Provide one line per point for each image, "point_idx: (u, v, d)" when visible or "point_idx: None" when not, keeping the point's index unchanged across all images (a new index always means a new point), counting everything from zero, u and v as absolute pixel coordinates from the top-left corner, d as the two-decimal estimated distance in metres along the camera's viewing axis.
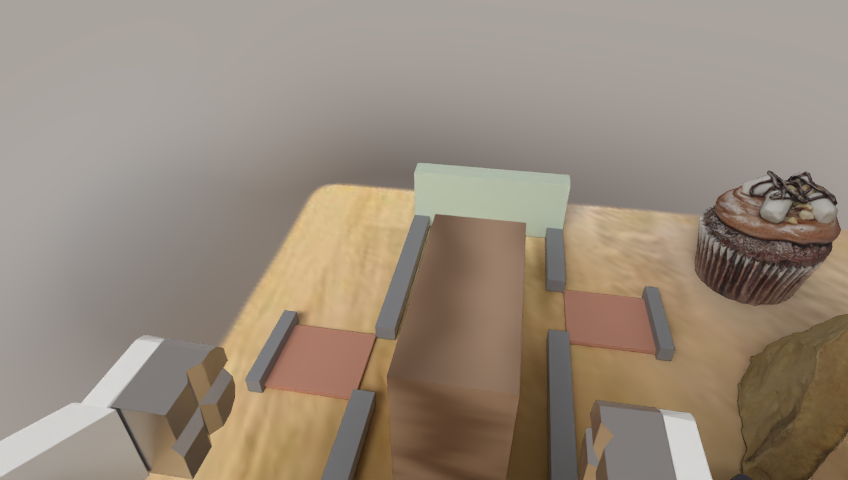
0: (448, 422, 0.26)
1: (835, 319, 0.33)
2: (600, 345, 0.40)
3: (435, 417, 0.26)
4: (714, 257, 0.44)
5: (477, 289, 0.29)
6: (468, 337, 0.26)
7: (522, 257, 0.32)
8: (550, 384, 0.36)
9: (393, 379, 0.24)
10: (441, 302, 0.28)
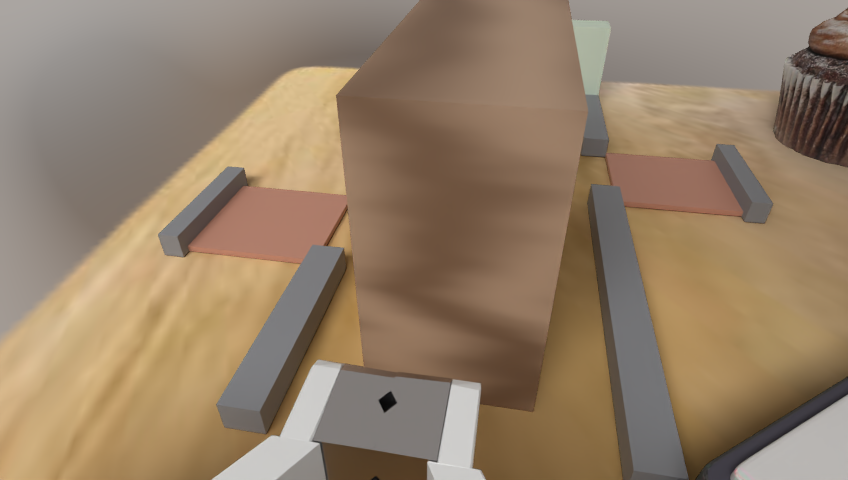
0: (450, 200, 0.14)
1: None
2: (663, 205, 0.29)
3: (427, 191, 0.14)
4: (810, 104, 0.33)
5: (498, 30, 0.18)
6: (486, 63, 0.15)
7: (565, 10, 0.20)
8: (600, 239, 0.25)
9: (348, 102, 0.13)
10: (440, 39, 0.17)
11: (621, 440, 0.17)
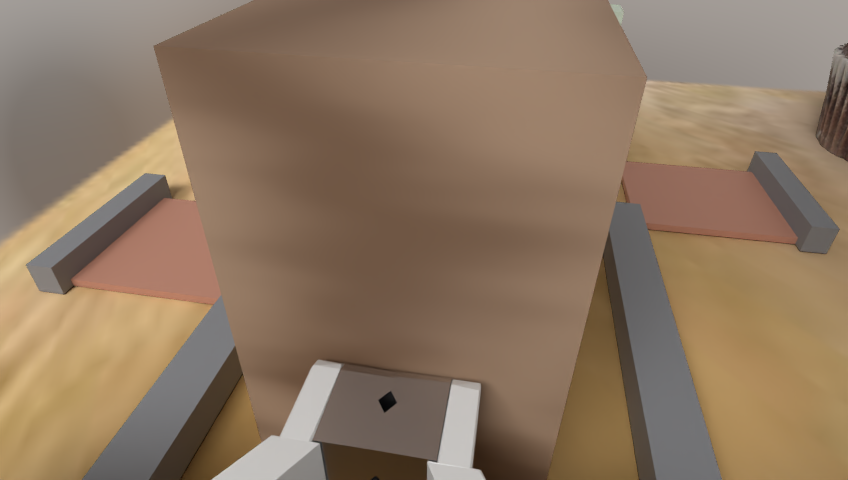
0: (383, 246, 0.08)
1: None
2: (694, 229, 0.23)
3: (341, 228, 0.08)
4: None
5: None
6: (452, 7, 0.09)
7: None
8: (619, 277, 0.19)
9: (177, 60, 0.07)
10: None
11: None
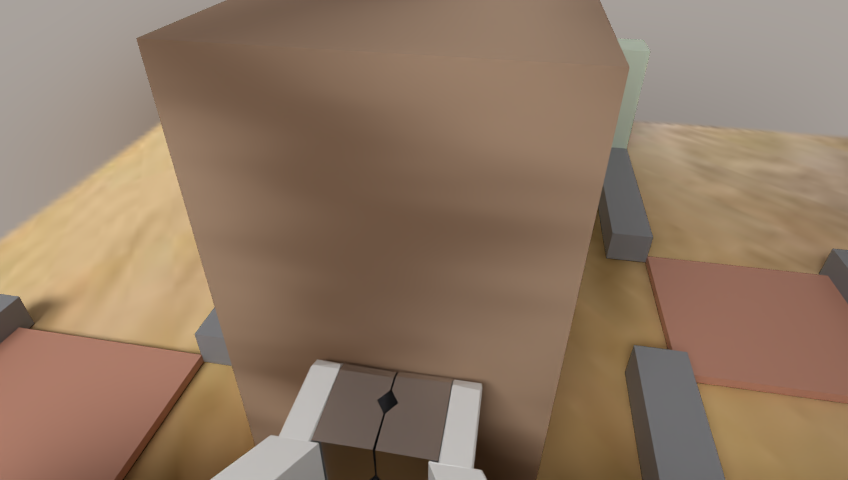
0: (369, 238, 0.08)
1: None
2: (764, 386, 0.16)
3: (328, 221, 0.08)
4: None
5: None
6: (439, 0, 0.09)
7: None
8: None
9: (161, 53, 0.07)
10: None
11: None
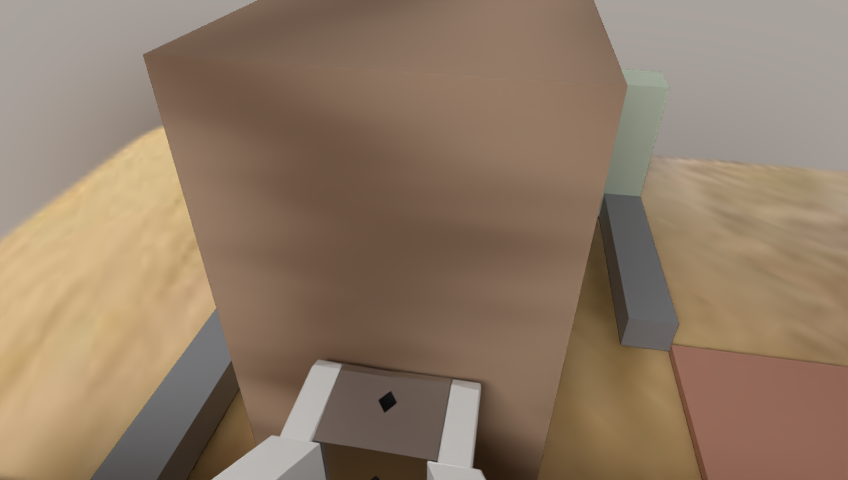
0: (372, 250, 0.08)
1: None
2: None
3: (330, 232, 0.08)
4: None
5: None
6: (441, 14, 0.09)
7: None
8: None
9: (167, 68, 0.07)
10: None
11: None
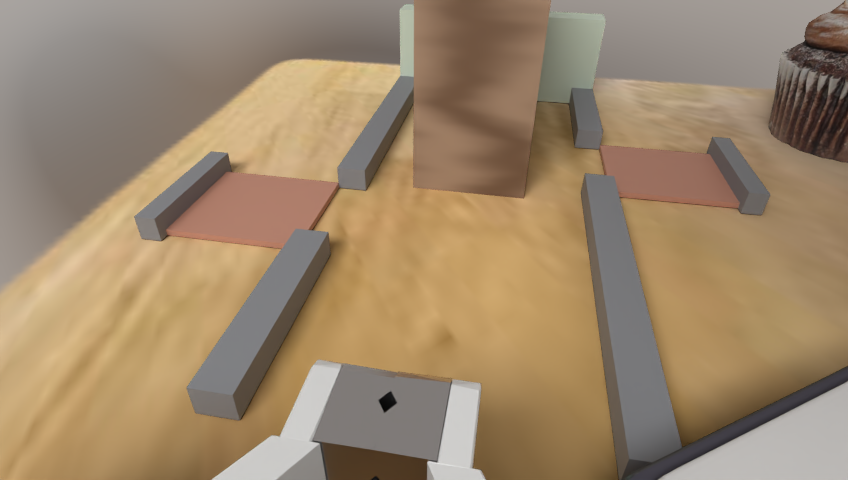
0: (476, 34, 0.24)
1: None
2: (657, 196, 0.28)
3: (463, 28, 0.24)
4: (806, 98, 0.33)
5: None
6: None
7: None
8: (594, 227, 0.24)
9: None
10: None
11: (615, 429, 0.16)
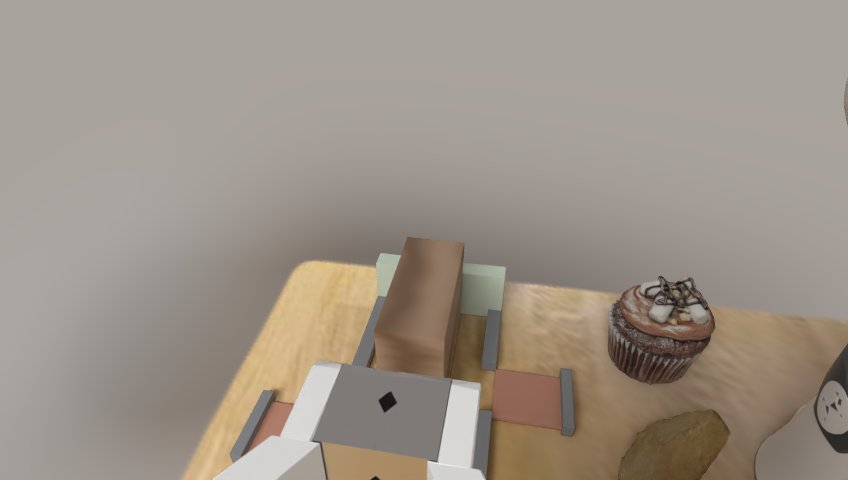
0: (408, 357, 0.46)
1: (685, 415, 0.43)
2: (517, 421, 0.50)
3: (401, 354, 0.46)
4: (617, 344, 0.54)
5: (428, 284, 0.50)
6: (420, 310, 0.47)
7: (458, 265, 0.52)
8: None
9: (377, 331, 0.45)
10: (407, 291, 0.49)
11: None
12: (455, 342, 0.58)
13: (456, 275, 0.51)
